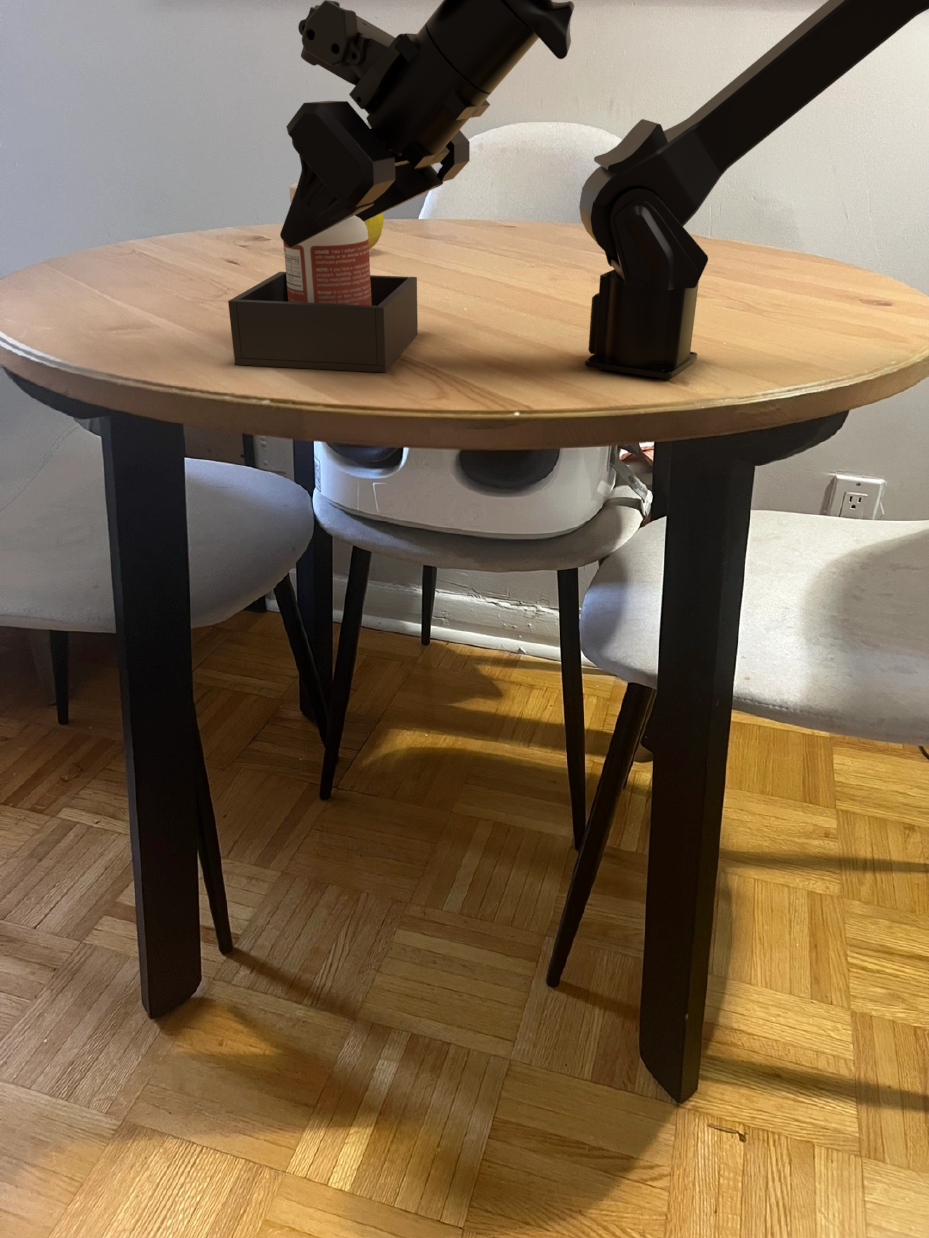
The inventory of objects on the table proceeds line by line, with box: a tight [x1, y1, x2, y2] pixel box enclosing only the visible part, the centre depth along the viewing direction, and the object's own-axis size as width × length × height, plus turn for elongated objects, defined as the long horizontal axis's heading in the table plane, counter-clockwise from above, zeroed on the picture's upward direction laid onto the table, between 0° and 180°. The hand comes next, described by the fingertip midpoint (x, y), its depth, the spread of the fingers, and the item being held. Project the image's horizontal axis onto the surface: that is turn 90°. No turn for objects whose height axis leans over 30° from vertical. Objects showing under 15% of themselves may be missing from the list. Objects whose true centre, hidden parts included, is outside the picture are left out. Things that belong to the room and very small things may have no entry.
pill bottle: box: [282, 182, 372, 305], centre depth 73 cm, size 6×6×11 cm
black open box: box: [227, 271, 419, 374], centre depth 74 cm, size 11×11×4 cm
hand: (316, 232), depth 72 cm, fingers open, 9 cm apart
